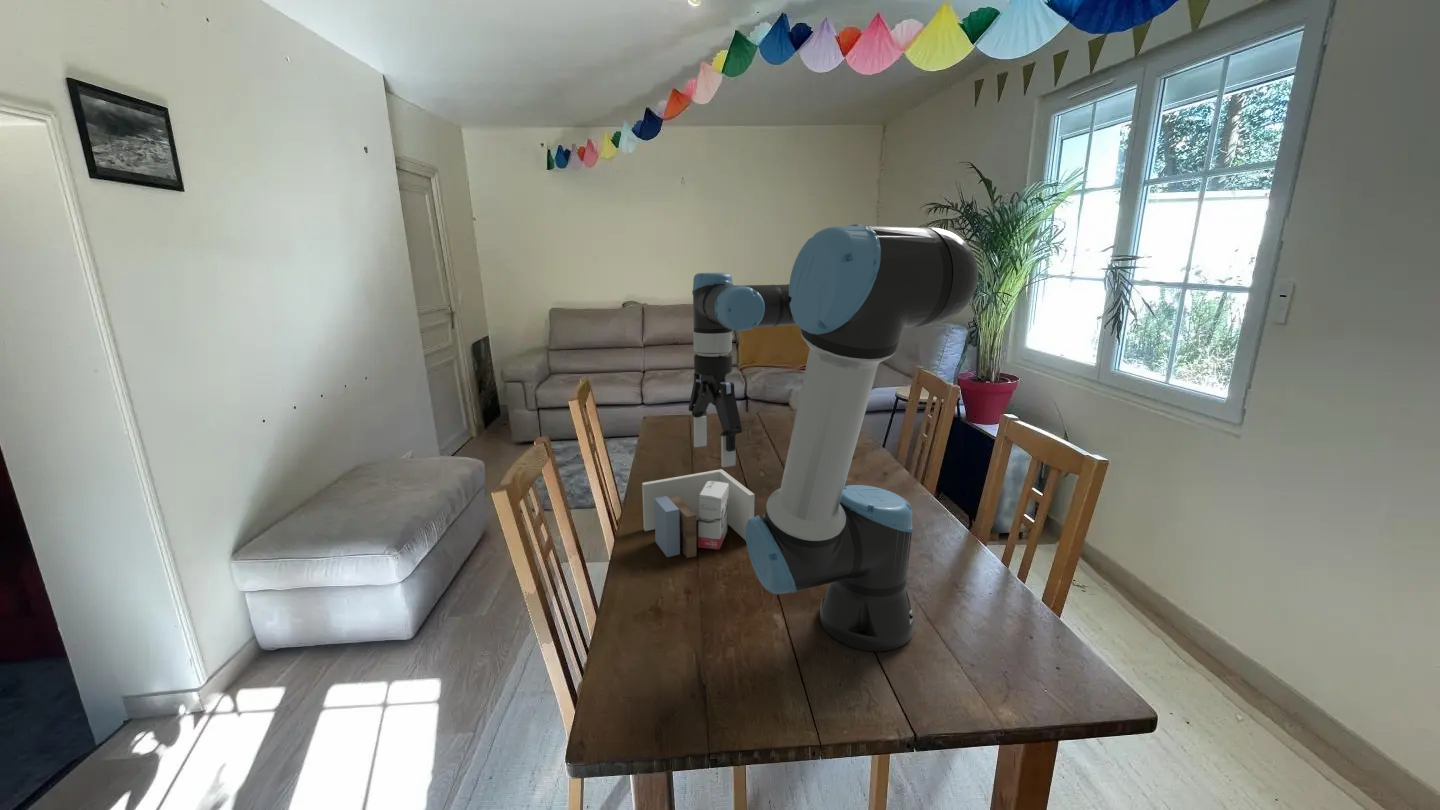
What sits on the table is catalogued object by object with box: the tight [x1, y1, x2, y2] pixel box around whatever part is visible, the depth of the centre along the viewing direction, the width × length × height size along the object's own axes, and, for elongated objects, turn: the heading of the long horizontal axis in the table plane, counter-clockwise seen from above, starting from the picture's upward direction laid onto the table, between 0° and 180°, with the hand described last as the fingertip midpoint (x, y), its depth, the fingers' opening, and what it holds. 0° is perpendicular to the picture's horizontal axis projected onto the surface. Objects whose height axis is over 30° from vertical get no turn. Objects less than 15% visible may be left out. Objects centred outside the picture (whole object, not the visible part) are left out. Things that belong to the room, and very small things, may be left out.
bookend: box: [669, 496, 697, 559], centre depth 121 cm, size 10×2×9 cm, turn 26°
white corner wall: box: [641, 468, 756, 558], centre depth 125 cm, size 16×19×11 cm
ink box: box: [697, 481, 729, 550], centre depth 124 cm, size 9×5×12 cm, turn 168°
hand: (713, 455), depth 120 cm, fingers open, 13 cm apart
